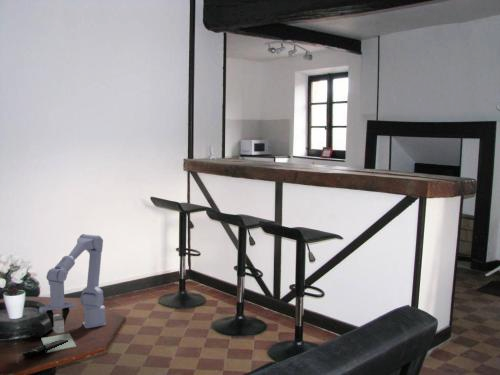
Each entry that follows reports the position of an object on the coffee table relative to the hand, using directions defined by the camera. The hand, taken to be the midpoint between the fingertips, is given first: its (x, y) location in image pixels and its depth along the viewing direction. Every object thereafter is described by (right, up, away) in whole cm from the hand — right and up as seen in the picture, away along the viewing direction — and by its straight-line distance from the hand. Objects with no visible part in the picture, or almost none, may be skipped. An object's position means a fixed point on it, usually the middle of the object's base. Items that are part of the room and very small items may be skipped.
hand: (58, 325), depth 221 cm
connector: (+1, -2, -1) cm, 2 cm away
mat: (0, -8, +1) cm, 8 cm away
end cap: (-11, -7, +12) cm, 17 cm away
